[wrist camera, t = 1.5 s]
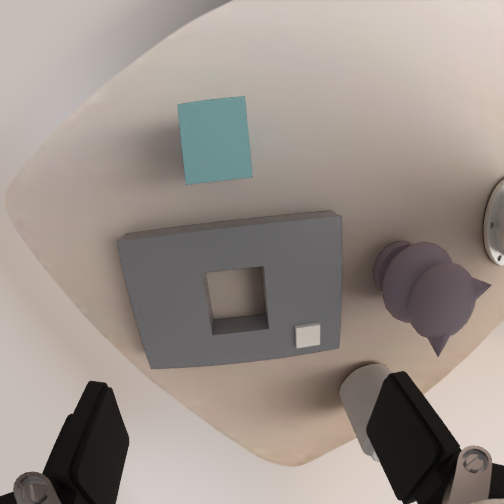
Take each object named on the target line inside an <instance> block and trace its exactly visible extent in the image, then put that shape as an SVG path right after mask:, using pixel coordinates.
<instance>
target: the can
mask: <svg viewBox="0 0 504 504" xmlns="http://www.w3.org/2000/svg"><path fill="white" fill-rule="evenodd" d="M389 374H391V371H390V370H389V369H388V368H387V367H386V366H385V365H381V364H370V365H366V366H363V367H360V368H358V369H356V370H355V371H353V372H352V373H351V374H350V375H349V376H348V377H347V378H346V379H345V381H344V382H343V383H342V385H341V388H340V391H339V397H340V399H341V402H342V404H343V406H344V409H345V411H346V413H347V415H348V418H349V420H350V422H351V425H352V427H353V429H354V432H355V434H356V436H357V439H358V441H359V443H360V445H361V448H362V450H363V452H364V453H365V454H367V455H369V456H371V457H372V458H373V460H375V461H377V462H380V461H379V459H378V457H377V455H376V453H375V450H374V448H373V446H372V444H371V442H370V440H369V438H368V436H367V433H366V426H367V424H368V421H369V419H370V416H371V414H372V411H373V408H374V406H375V403H376V400H377V398H378V395H379V392H380V389H381V386H382V384H383V381H384V379H385V378H387V376H388V375H389Z"/></svg>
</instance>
